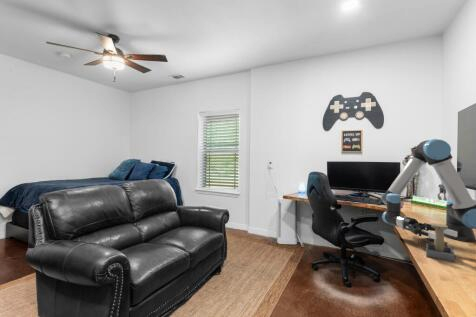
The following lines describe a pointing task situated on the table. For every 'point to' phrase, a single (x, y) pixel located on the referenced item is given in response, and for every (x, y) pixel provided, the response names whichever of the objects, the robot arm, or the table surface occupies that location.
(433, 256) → the tray
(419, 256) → the table surface
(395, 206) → the robot arm
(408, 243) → the table surface
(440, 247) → the handle
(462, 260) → the table surface
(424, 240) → the collar
